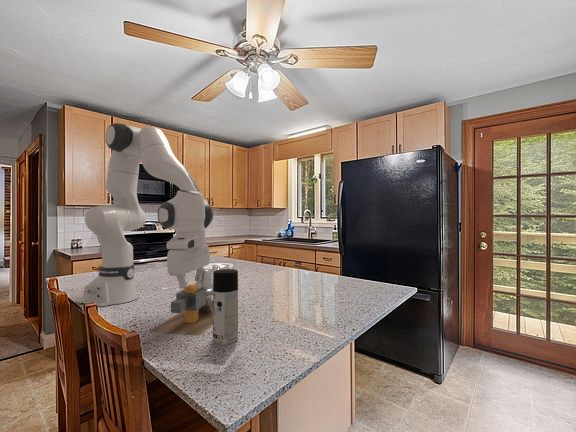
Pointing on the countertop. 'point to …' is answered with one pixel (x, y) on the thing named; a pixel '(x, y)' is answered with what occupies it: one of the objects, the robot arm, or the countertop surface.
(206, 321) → the base board
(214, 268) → the beer glass
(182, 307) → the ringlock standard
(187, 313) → the orange rectangular block
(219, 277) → the spray can
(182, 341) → the countertop surface
